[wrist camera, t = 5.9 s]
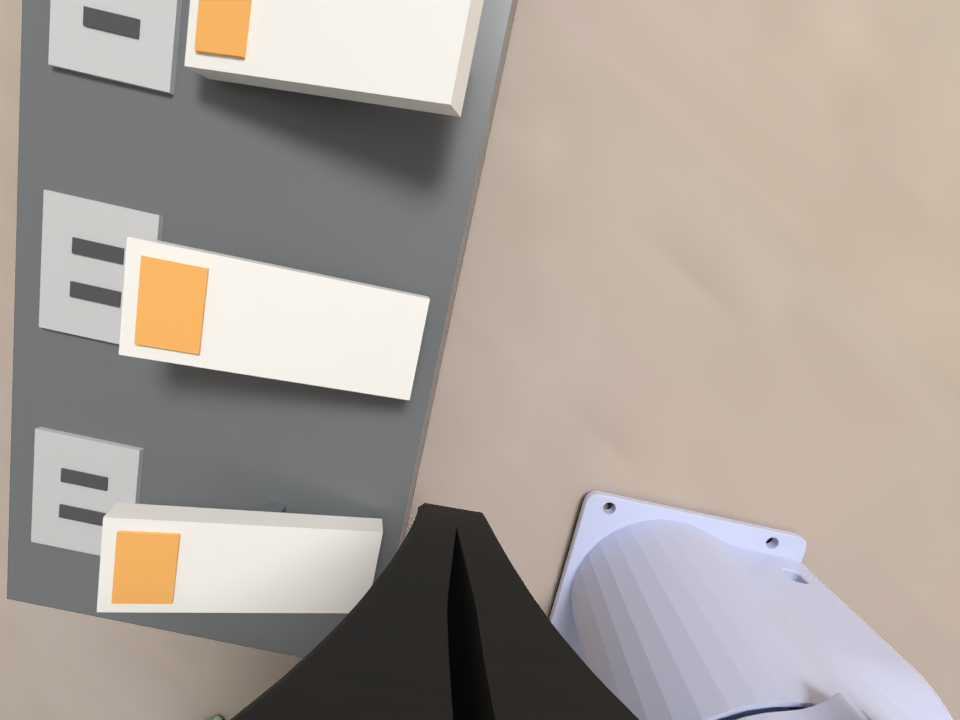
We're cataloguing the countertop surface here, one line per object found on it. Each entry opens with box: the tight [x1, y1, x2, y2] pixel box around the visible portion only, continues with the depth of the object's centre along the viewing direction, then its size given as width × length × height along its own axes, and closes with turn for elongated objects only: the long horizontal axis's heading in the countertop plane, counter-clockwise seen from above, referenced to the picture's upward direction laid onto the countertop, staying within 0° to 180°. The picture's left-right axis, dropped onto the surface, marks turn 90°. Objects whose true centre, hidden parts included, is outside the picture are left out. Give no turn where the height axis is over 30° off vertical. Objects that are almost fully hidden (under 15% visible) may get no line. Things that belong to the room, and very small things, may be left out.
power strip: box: [7, 0, 518, 658], centre depth 16 cm, size 14×26×4 cm, turn 167°
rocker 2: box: [97, 503, 383, 613], centre depth 15 cm, size 8×3×1 cm, turn 77°
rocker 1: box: [184, 0, 484, 117], centre depth 12 cm, size 8×3×1 cm, turn 77°
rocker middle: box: [119, 237, 430, 400], centre depth 14 cm, size 8×3×1 cm, turn 77°
